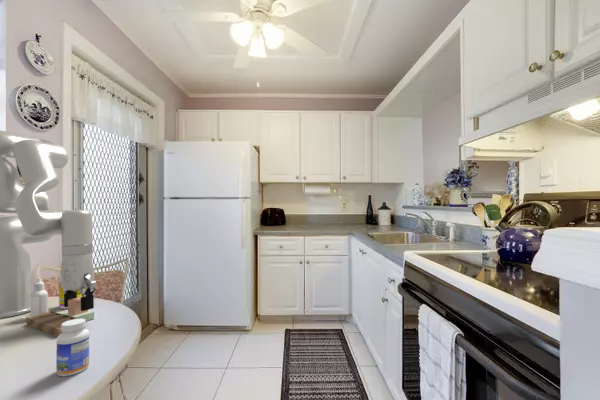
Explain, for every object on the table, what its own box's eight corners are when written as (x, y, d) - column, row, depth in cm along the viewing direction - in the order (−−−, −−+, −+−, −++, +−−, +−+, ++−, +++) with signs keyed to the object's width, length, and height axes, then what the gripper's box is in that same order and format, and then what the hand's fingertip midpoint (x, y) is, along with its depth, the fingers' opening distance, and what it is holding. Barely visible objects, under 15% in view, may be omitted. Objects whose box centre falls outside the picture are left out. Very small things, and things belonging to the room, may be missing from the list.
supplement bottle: (77, 308, 101) (77, 270, 101) (54, 310, 99) (54, 271, 100) (87, 302, 107) (86, 266, 108) (66, 304, 106) (65, 267, 106)
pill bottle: (51, 373, 60) (50, 324, 60) (81, 360, 65) (80, 315, 65) (65, 379, 57) (64, 329, 58) (95, 366, 62) (94, 319, 63)
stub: (61, 320, 90) (61, 299, 90) (80, 314, 94) (80, 295, 94) (75, 324, 86) (75, 303, 86) (94, 318, 90) (94, 298, 90)
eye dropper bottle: (28, 321, 90) (28, 281, 90) (31, 316, 94) (31, 278, 94) (47, 318, 92) (47, 279, 92) (49, 313, 97) (49, 276, 97)
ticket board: (26, 324, 87) (26, 317, 87) (51, 317, 92) (51, 310, 92) (59, 337, 78) (59, 328, 78) (85, 328, 83) (85, 320, 83)
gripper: (49, 251, 91) (50, 308, 91) (78, 253, 83) (79, 315, 83) (77, 248, 98) (78, 300, 98) (106, 249, 90) (107, 307, 89)
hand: (78, 307), depth 90 cm, fingers open, 9 cm apart
